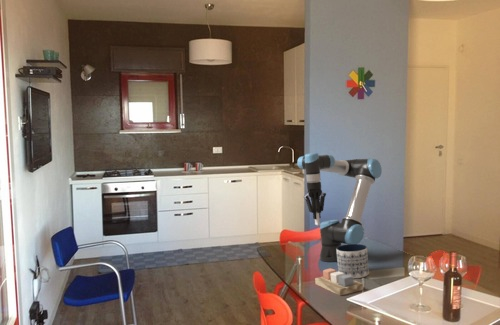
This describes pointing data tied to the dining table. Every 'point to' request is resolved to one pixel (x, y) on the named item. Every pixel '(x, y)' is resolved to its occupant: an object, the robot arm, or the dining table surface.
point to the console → (338, 286)
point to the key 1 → (328, 273)
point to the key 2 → (346, 280)
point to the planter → (353, 260)
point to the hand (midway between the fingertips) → (317, 224)
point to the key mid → (336, 276)
